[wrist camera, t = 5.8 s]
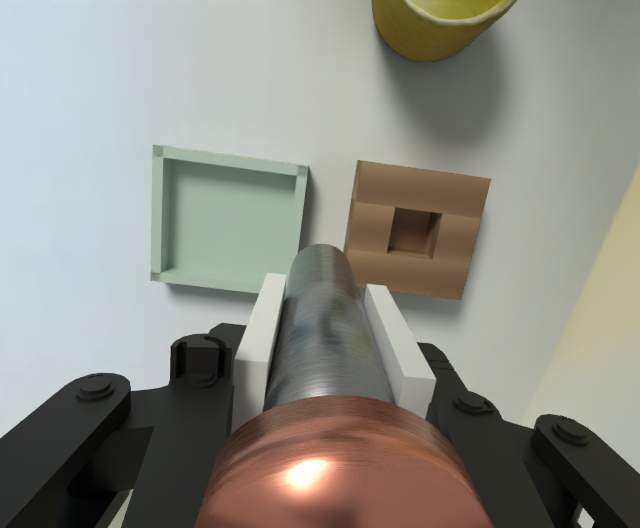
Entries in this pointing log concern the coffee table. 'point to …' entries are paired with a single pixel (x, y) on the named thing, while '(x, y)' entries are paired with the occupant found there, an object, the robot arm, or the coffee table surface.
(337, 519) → the pin
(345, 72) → the coffee table surface
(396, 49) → the mug
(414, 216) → the socket block
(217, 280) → the tray
